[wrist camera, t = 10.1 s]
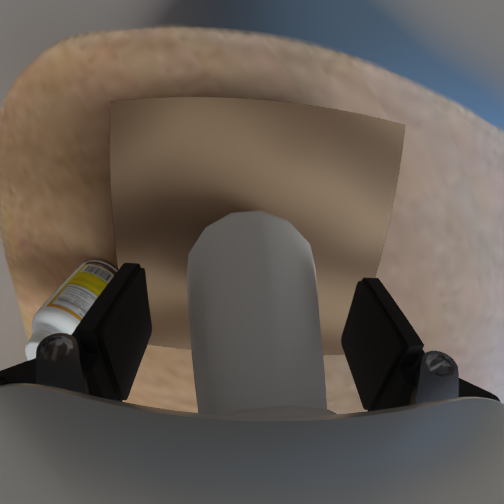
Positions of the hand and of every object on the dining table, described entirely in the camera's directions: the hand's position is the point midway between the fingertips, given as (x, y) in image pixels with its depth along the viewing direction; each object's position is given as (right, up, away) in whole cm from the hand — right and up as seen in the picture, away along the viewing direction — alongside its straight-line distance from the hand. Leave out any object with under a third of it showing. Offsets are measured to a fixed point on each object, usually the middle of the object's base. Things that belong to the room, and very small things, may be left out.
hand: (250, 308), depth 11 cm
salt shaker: (0, +2, +5) cm, 6 cm away
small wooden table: (0, +5, +10) cm, 11 cm away
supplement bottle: (-13, -1, +13) cm, 18 cm away
